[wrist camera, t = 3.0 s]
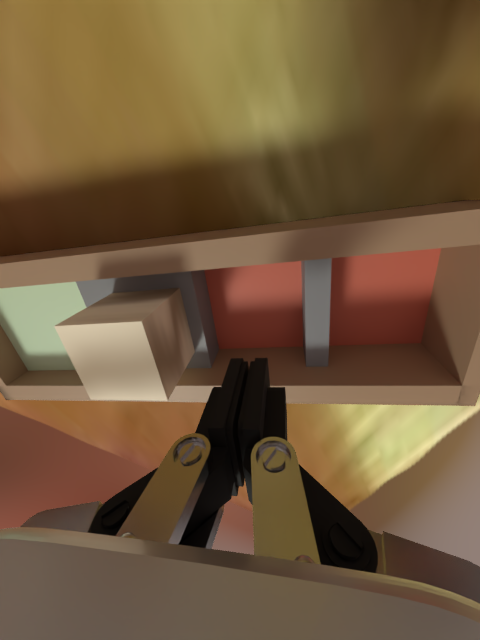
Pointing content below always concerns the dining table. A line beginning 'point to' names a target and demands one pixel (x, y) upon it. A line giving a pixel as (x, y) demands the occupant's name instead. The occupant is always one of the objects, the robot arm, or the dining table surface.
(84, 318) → the birch block
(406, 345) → the track
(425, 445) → the dining table surface
